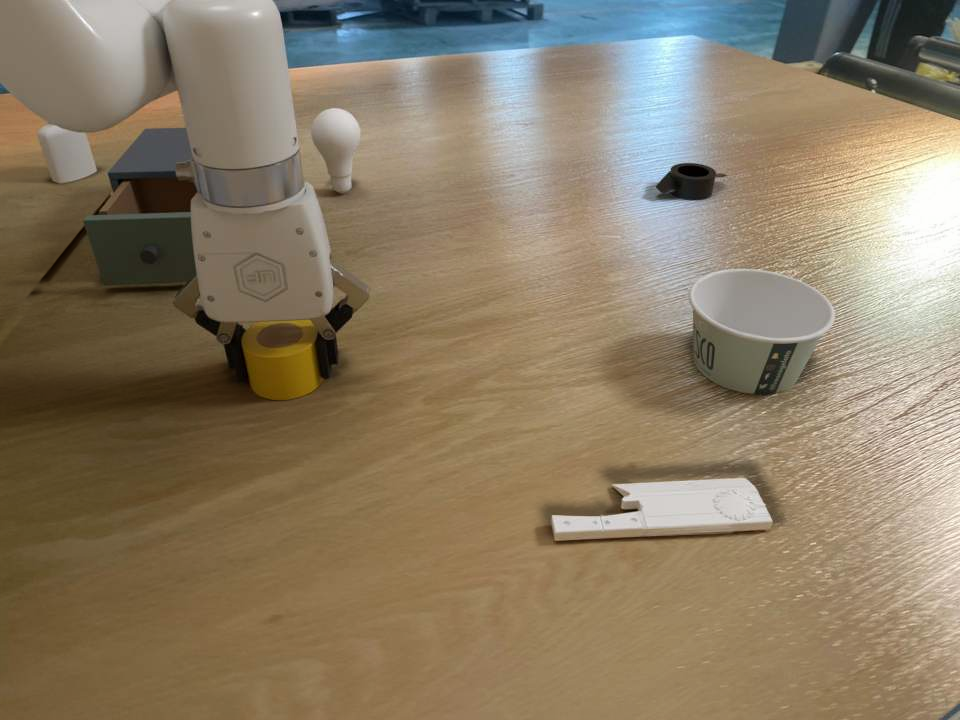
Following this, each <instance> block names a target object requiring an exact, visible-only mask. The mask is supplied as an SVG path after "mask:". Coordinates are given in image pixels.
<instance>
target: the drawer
mask: <svg viewBox="0 0 960 720" xmlns="http://www.w3.org/2000/svg"><path fill="white" fill-rule="evenodd" d="M196 193H197V187H196V186H195V185H194V182H189V181H188V180H178V179H177V177H172V178H137V179H124V181H123V182H122V183H121V184H120V186H119V187H118V188H117V189H116V191H115V192H114V193H113V192H112V194H111V196H110V197H109V198H108V200H107V201H106V202H105V204H104V205H103V206H102V207H101V208H100V209H99V211H98V212H99V214H87V215H85V217H84V218H83V219H82V223H83V225H84V229H85V231H86V235H87V237H88V238H87V239H88V241H89V244H90V247H91V250H92V253H93V256H94V260H95V262H96V265H97V268H98V272H99V275H100V277H101V281H102V284H103V285H104V286H116V285H117V286H118V285H120V286H121V285H142V284H167V283H168V284H169V283H172V284H173V283H187V282H188V281H189V280H190V279H191V278H192V277H193V275H194V274H195V273H196V266H195V258H194V250H193V241H192V231H191V200H192V198H193V197H194V196H195V195H196Z"/></svg>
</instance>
